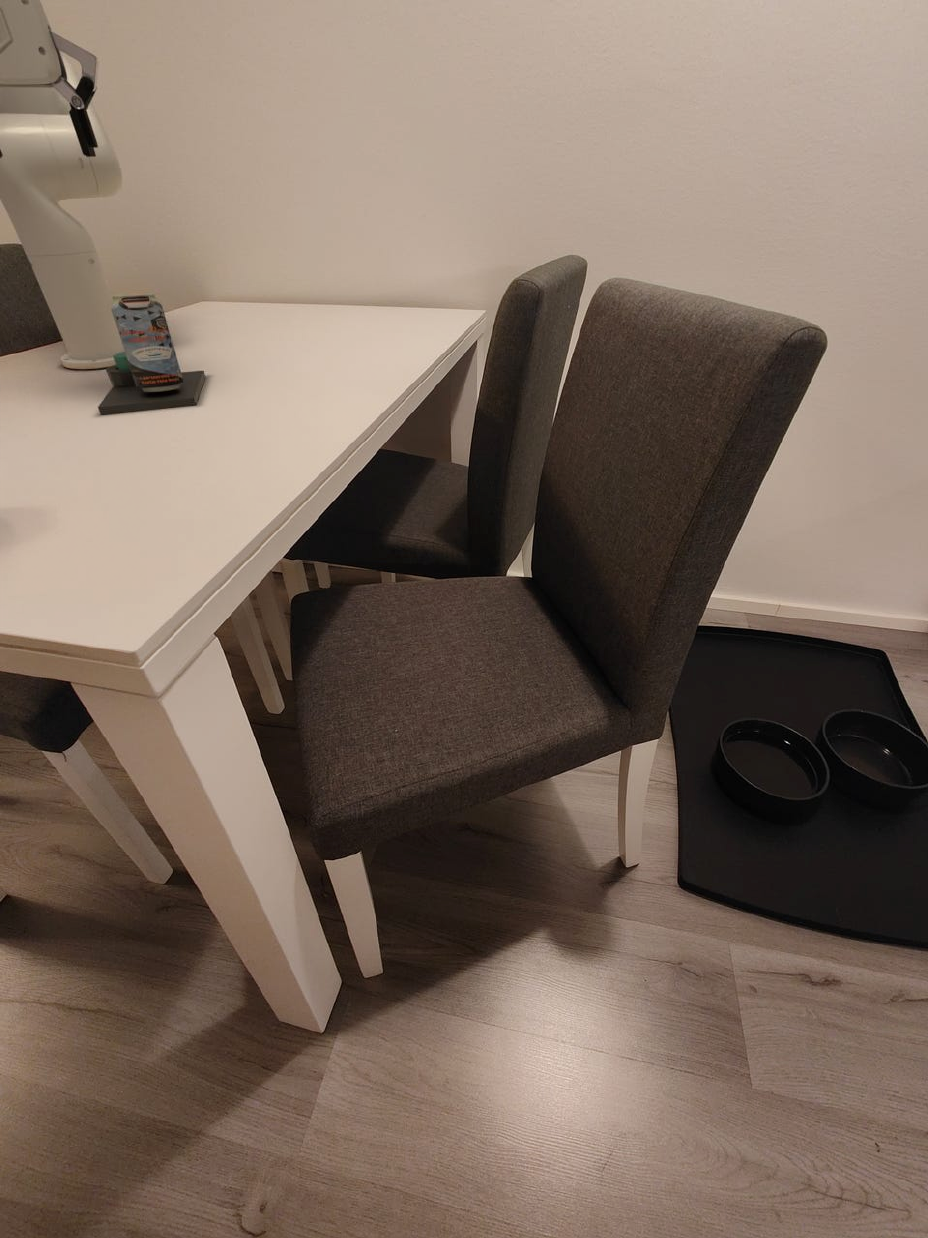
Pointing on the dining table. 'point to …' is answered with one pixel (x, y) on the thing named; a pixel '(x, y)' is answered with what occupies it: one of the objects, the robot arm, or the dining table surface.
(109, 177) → the robot arm
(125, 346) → the beverage can
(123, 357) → the button
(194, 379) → the scale
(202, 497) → the dining table surface
